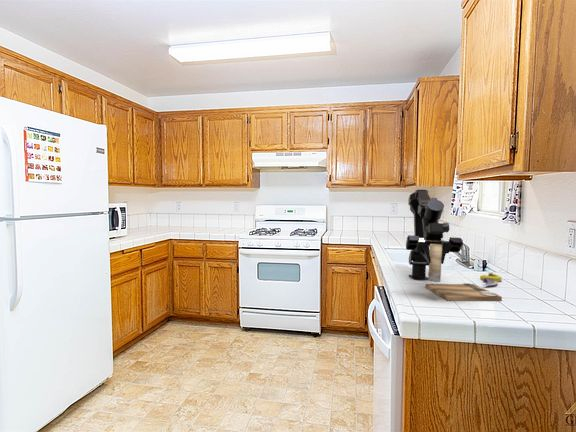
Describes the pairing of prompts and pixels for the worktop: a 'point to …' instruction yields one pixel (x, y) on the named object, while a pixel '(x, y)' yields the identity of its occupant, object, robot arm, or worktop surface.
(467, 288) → the subfloor panel
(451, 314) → the worktop surface
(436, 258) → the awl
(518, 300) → the worktop surface
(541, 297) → the worktop surface
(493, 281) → the knife
